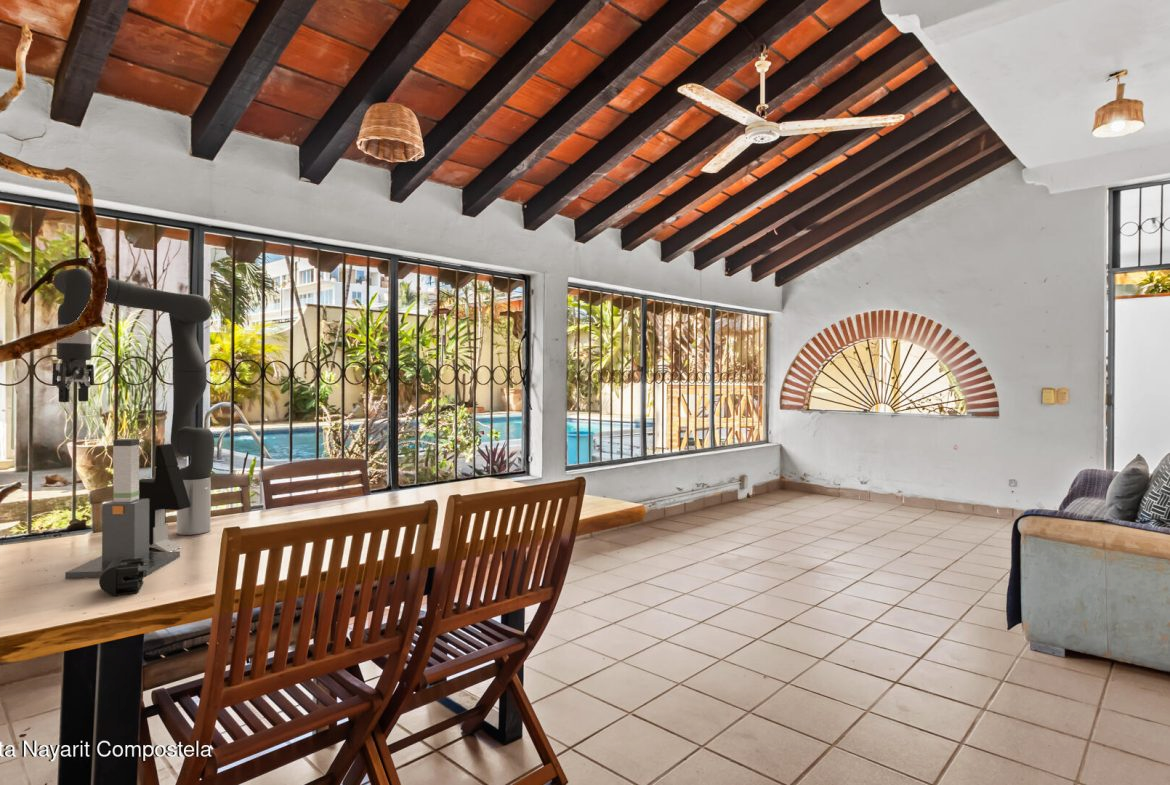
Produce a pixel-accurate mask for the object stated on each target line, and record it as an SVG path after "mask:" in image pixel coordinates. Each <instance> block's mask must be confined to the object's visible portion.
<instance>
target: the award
mask: <svg viewBox="0 0 1170 785" xmlns="http://www.w3.org/2000/svg"><path fill="white" fill-rule="evenodd" d="M154 458H155V461H154V462H155V464H154V467H155V468H154V479H152V478H150V479H149V478H142V479H141V478H140V479H139V499H149V549H150V548H152V549H156V550H159V551H160V552H170V551H172V552H174V551H173V550H175V549H178V548H180V547H182V546H181V545H179V544H177V543H176V542H174V541H172V540H170V538H169V526H168V523H166V522H167V518H166V516H167V513H166V512H167V511H166V510H169V511H170V510H172V511H177V510H181V509H184V508H188V507H190V506H191V504H190V501H189V498H188V495H187V491H186V488H185V485H184V482H183V479H182V475H181V472H180V469H181V468H180V467H179V462H178V460H177V455H176V454H175V453H174V449H173V446H172V445H171V443H165V444H158V445H155V457H154ZM178 550H179V549H178ZM175 551H176V550H175Z"/></svg>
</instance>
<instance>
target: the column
mask: <svg viewBox="0 0 1170 785" xmlns="http://www.w3.org/2000/svg"><path fill="white" fill-rule="evenodd" d="M140 440H141V439H140V438H119V439H113V494H112V497H113V501H114V503H133V502H136V501H139V480H140Z"/></svg>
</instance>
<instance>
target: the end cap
mask: <svg viewBox="0 0 1170 785" xmlns="http://www.w3.org/2000/svg"><path fill="white" fill-rule="evenodd" d="M140 566H144V558H137V559H126V560H124V557H119V558H117V559H115V560H113V561H112V562H111V563H110V564H109V566H108V567H107V568H106V570H105V571H104V572H103V574H102V575H101V577H100V578H99V580H98V582H99V587H100V589H101V590H102V591H103V592H104V593H106V594H108V595H110V596H112V597H121V596H122V597H123V595H124V596H131V595H132V594H133V595H137V593H138V594H139V593H140V591H139V590H141V589H142V587H143V585H144V577H145V576H144V570H143V571H138V568H139V567H140Z"/></svg>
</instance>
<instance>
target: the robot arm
mask: <svg viewBox="0 0 1170 785" xmlns="http://www.w3.org/2000/svg"><path fill="white" fill-rule="evenodd" d="M91 276H93V275H92V274H91V273H90V272H89V271H87V270H86V269H84V268H70V269H64V270H60V271H59V272H58V273H56V274H55V275H54V277H53V280H52V283H53V284H52V285H53V286H54V288H55V289H56V290H57V291H58V292H60V293H61V294H63V295H64V296H63V302H62V303H61V304H60V305H59V306H58V309H57V328H60V327H63V326H66V325H68V324H70V323H72V322H74V321H75V320H77V318H78V317H79V316H80V314H81V313H82V311H83V310H84V308H85V307H86V305H87V303H88V301H89V298H90V294H91ZM107 278H108V288H107V295H106V299H105V302H104V303H109V304H113V305H118V306H122V307H126V308H127V307H128V308H133V309H140V310H141V309H142V310H151V311H157V312H162V313H168V318H169V324H170V331H171V343H172V344H171V345H172V347H171V348H172V390H173V393H172V394H173V398H172V401H173V404H172V405H173V406H172V418H171V420H172V421H171V430H170V431H171V432H170V444H171V445H172V446H173V449H174V453H175V456H177V457H190V458H191V460H190V463H189V464H188V465H187V466H185V467H182V468H179V469H180V472H181V475H182V479H183V482H184V485H185V488H186V491H187V495H188V498H189V501H190V504H191V506H190V507H188V508H184V509H181V510H176V534H177V535H181V536H185V535H186V536H189V535H192V536H193V535H198V534H199V535H200V534H205V533H208V532H210V531H211V516H212V515H211V509H212V508H211V503H212V502H211V500H212V499H211V498H212V497H211V496H212V495H211V493H212V492H211V490H212V486H211V483H212V482H211V480H212V478H211V477H212V471H213V467H214V456H215V455H214V453H215V436H214V433H213V432H212V430H210V429H209V428H206V427H193V414H194V411H195V408H196V406H197V405H198V403H199V401H200V399H201V398H202V397H203V394H204V392H205V391H206V388H207V375H208V374H207V364H206V361H205V358H204V356H203V353H202V351H201V348H200V346H199V343H198V338H197V325H198V324H201V323H205V322H206V321H207V320H209V318H211V315H212V312H213V309H212V304H211V303H210V301H209V300H208V299H207V298H206V297H204V296H202V295H199V294H196V293H195V294H193V293H192V294H190V293H189V294H187V293H179V292H177V293H176V292H171V291H165V290H160V289H155V288H151V287H148V286H144V285H140V284H137V283H131V282H128V281H125V280H121V279H116V278H112V277H107ZM55 354H56V359H57V360H60V361H61V362H54V363H52V379H51V380H52V381H51V383H52V386H56V388H57V389H58V402H60V403H69V402H70V393H71V392H70V386H71V384H72V383H73V382H75V383H76V384H77V386H78V388H77V389H78V390H77V391H78V397H77V398H78V399H77V400H78V402H88V401H89V388H91V386H94V385H95V367H94V364H87V362H86V361H91V360H92V331H91V328H90V329H88V330H86V331H84V332H81V333H78V334H76V335H74V336H72V337H69V338H66V339H62V340H59V341H57V340H56V353H55Z"/></svg>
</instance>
